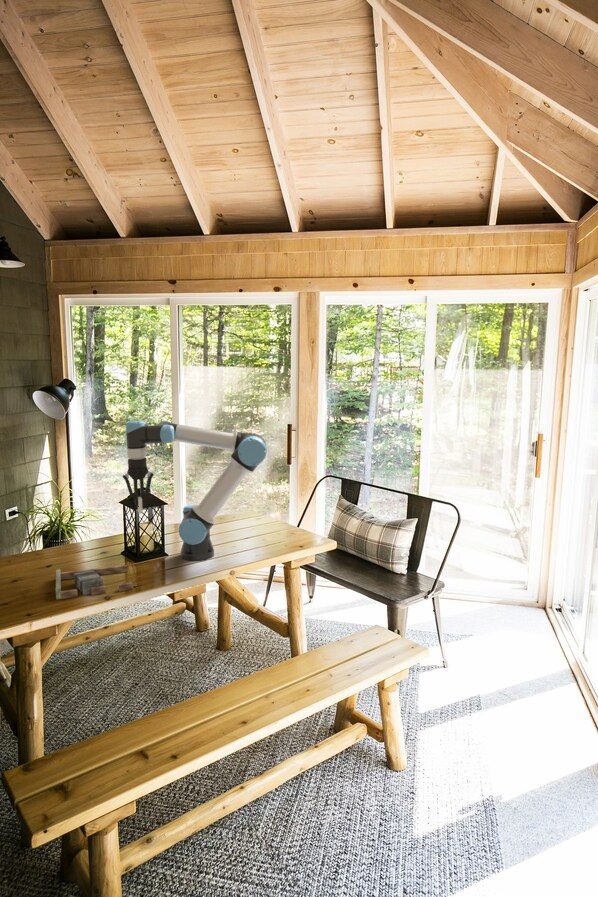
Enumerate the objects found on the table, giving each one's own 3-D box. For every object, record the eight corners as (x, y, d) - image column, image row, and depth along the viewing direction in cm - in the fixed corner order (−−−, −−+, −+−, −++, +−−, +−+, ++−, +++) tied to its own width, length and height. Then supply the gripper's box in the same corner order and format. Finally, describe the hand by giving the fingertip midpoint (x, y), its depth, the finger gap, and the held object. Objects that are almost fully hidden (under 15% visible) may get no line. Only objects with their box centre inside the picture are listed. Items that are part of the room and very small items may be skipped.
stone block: (97, 580, 249) (96, 567, 248) (106, 591, 237) (106, 578, 236) (74, 584, 244) (73, 571, 243) (83, 596, 232) (82, 582, 231)
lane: (126, 570, 259) (126, 561, 258) (132, 589, 238) (132, 579, 237) (56, 579, 249) (56, 569, 249) (56, 599, 228) (55, 589, 227)
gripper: (151, 455, 263) (154, 508, 267) (119, 457, 258) (123, 512, 262) (154, 457, 256) (157, 512, 260) (122, 460, 251) (125, 516, 255)
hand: (140, 512), depth 261 cm, fingers closed
